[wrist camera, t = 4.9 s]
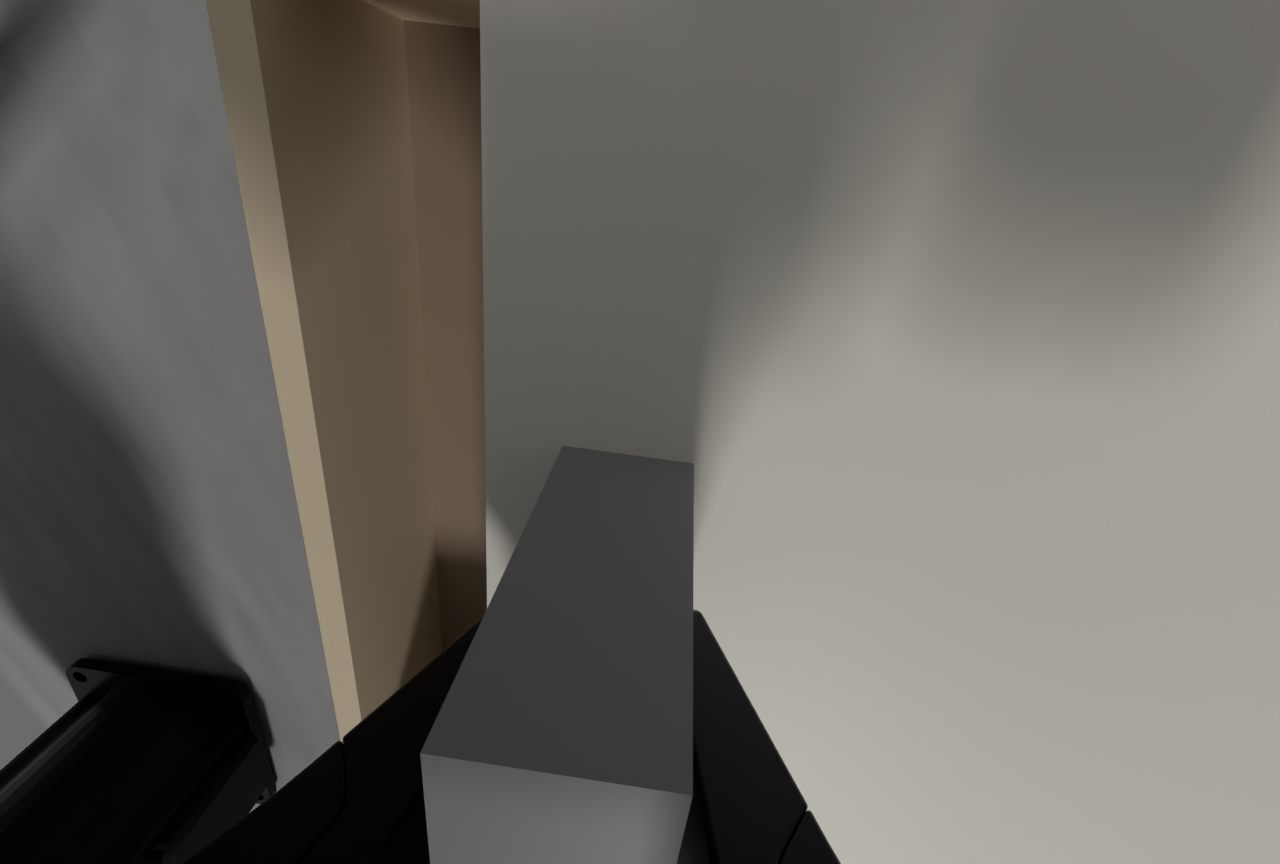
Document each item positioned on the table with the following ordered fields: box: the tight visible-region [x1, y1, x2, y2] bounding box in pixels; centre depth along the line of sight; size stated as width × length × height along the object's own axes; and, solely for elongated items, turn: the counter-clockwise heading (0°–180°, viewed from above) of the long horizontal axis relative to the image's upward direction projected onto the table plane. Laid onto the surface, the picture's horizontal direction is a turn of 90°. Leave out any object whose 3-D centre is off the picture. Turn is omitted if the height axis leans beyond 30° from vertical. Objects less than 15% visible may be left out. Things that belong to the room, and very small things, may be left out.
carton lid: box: [420, 0, 1280, 864], centre depth 8 cm, size 16×18×6 cm
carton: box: [206, 0, 487, 743], centre depth 13 cm, size 16×18×5 cm
